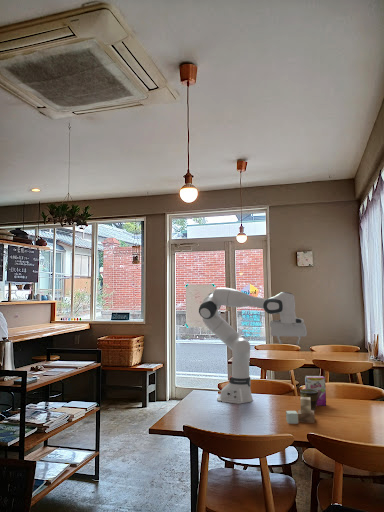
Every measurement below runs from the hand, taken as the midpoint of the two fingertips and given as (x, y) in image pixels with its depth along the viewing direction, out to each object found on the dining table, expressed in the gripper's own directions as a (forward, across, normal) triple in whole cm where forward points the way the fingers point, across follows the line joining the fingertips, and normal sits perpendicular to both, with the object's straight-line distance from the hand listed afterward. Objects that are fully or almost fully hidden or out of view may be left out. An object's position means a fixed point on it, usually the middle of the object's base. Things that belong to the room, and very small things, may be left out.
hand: (289, 344), depth 219 cm
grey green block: (+37, +1, -19) cm, 42 cm away
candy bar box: (+37, +13, +18) cm, 43 cm away
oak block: (+33, +8, -14) cm, 37 cm away
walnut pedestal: (+37, +8, -14) cm, 40 cm away
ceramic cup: (+37, +9, +7) cm, 39 cm away
